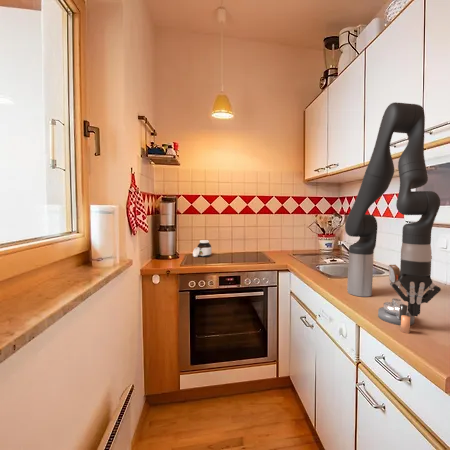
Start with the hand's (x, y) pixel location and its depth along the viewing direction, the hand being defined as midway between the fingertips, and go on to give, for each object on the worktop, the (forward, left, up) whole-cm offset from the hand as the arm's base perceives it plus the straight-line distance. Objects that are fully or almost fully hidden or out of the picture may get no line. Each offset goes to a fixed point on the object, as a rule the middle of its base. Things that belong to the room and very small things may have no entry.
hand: (413, 315), depth 83 cm
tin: (-47, +26, -4) cm, 54 cm away
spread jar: (-119, -69, -4) cm, 138 cm away
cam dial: (-4, -2, -1) cm, 5 cm away
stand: (-4, -1, -4) cm, 5 cm away
